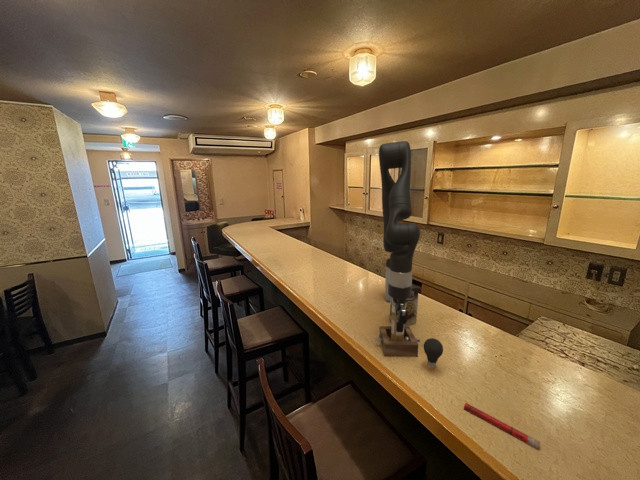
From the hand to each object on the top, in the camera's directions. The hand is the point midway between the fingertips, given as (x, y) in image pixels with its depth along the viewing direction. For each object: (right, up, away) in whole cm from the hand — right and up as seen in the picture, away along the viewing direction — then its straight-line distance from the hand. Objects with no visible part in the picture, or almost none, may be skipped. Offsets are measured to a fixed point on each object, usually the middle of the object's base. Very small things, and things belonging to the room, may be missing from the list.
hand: (397, 327), depth 90 cm
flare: (+16, -15, -28) cm, 35 cm away
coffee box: (+7, -4, +17) cm, 19 cm away
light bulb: (+8, -10, -9) cm, 16 cm away
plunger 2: (+5, -6, +1) cm, 8 cm away
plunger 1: (-5, -6, +2) cm, 8 cm away
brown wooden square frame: (0, -7, +2) cm, 8 cm away
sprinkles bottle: (0, -5, +1) cm, 5 cm away
